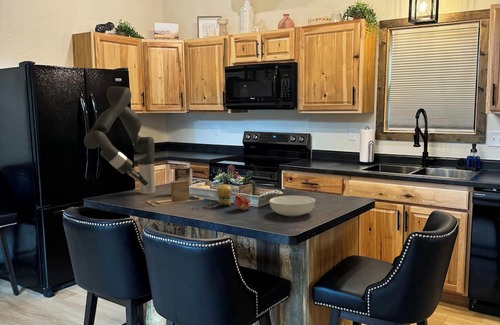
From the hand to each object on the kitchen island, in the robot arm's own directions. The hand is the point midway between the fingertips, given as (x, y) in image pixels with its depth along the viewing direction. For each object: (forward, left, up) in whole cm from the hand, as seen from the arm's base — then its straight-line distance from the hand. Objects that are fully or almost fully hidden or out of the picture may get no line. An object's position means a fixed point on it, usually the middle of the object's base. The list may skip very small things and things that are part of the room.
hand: (146, 184), depth 227 cm
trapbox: (0, +15, -12) cm, 19 cm away
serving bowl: (+54, +51, -12) cm, 75 cm away
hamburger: (+20, +34, -12) cm, 41 cm away
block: (0, +18, -10) cm, 20 cm away
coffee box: (-18, +28, -12) cm, 35 cm away
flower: (+33, +37, -12) cm, 51 cm away
